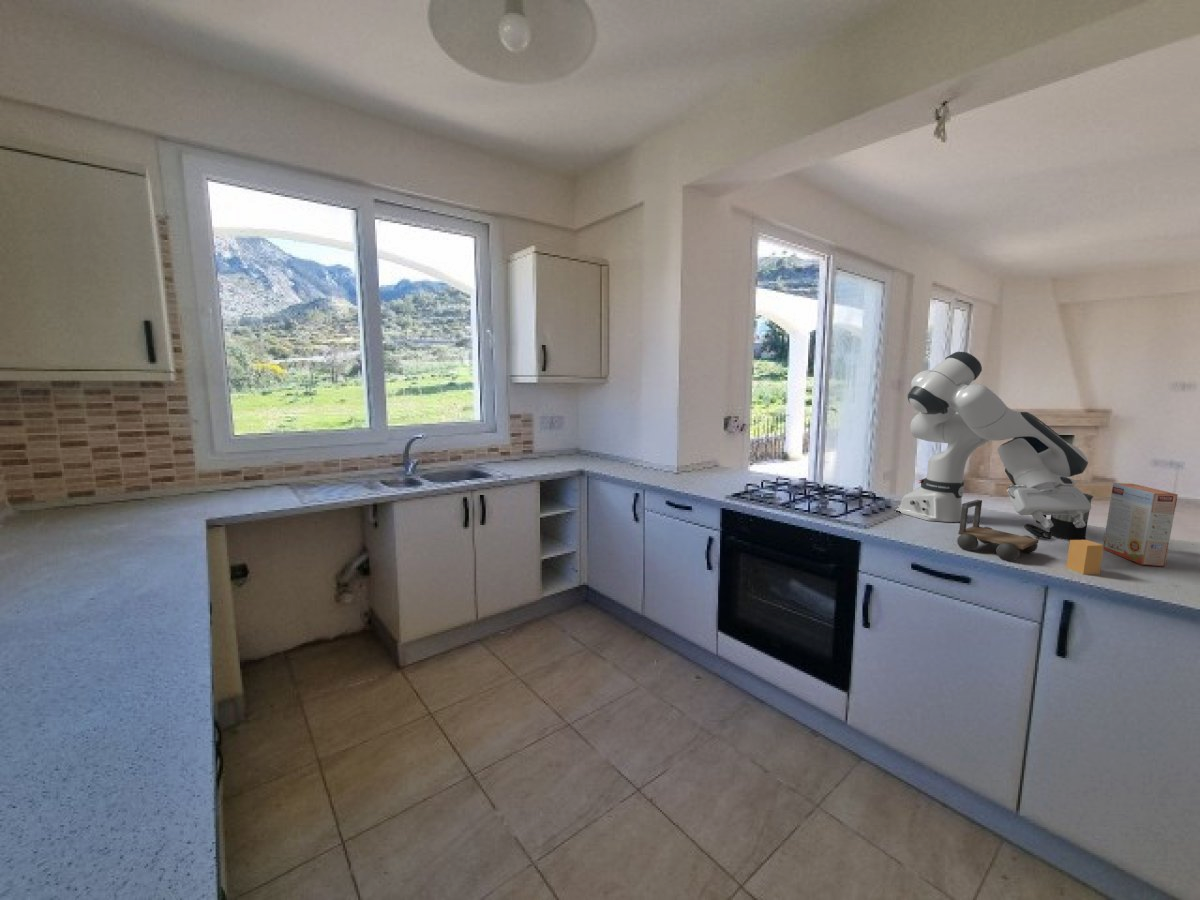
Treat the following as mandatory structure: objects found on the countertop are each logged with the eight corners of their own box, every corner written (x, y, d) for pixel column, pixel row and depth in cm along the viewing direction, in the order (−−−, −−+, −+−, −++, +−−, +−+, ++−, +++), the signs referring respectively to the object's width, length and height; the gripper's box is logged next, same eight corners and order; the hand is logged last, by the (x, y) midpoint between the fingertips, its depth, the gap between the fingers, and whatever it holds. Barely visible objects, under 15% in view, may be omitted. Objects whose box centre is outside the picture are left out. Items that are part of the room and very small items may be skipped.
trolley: (954, 547, 152) (959, 504, 150) (975, 539, 160) (980, 498, 158) (1018, 564, 139) (1024, 517, 137) (1038, 555, 146) (1044, 510, 144)
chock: (1066, 567, 136) (1070, 540, 135) (1081, 567, 137) (1086, 539, 135) (1083, 574, 132) (1087, 545, 131) (1099, 574, 132) (1103, 545, 131)
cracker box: (1166, 567, 137) (1179, 493, 134) (1140, 565, 138) (1153, 492, 135) (1124, 550, 150) (1135, 483, 147) (1101, 548, 152) (1111, 482, 148)
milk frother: (1089, 538, 161) (1096, 494, 159) (1077, 548, 152) (1084, 501, 150) (1033, 528, 173) (1039, 486, 171) (1019, 536, 164) (1025, 492, 161)
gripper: (1011, 479, 144) (1038, 521, 135) (1078, 479, 145) (1109, 521, 136) (996, 491, 149) (1021, 532, 140) (1061, 490, 150) (1090, 531, 141)
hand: (1065, 526), depth 138 cm, fingers open, 8 cm apart
